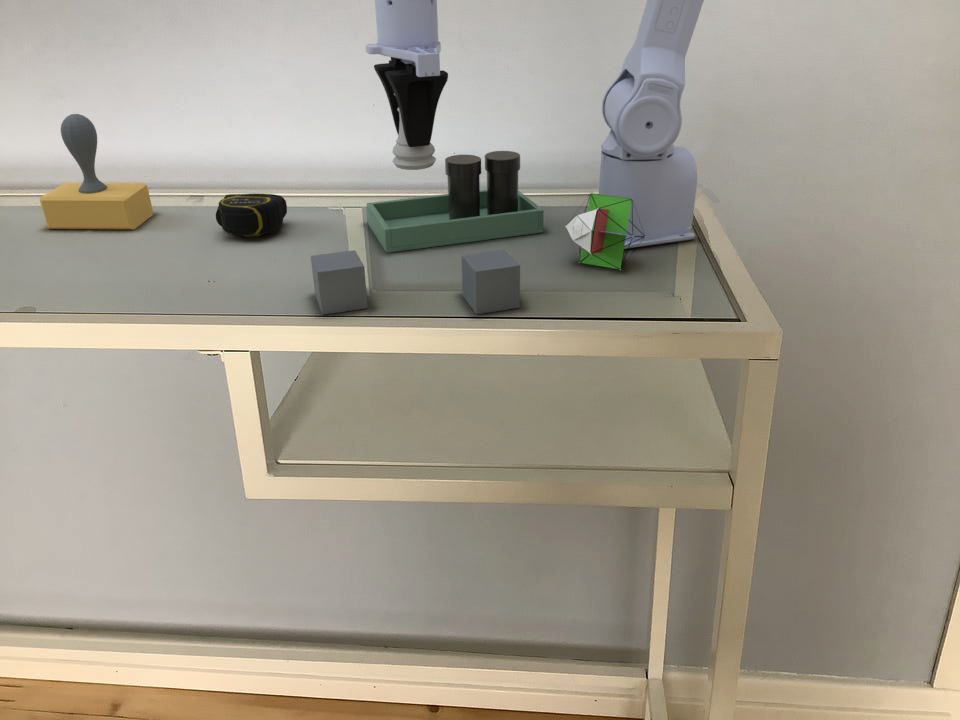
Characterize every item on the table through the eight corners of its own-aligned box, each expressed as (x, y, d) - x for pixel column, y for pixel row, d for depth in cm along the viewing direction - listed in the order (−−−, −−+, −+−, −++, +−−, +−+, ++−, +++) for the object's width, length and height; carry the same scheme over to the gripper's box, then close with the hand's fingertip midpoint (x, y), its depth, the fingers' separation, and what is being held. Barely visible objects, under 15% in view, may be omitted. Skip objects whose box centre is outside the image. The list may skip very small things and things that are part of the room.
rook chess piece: (386, 169, 81) (380, 86, 77) (400, 157, 85) (395, 77, 81) (429, 171, 80) (425, 87, 76) (441, 159, 84) (438, 79, 80)
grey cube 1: (359, 290, 74) (355, 249, 72) (368, 308, 71) (364, 265, 69) (315, 297, 73) (310, 255, 71) (322, 315, 70) (317, 272, 68)
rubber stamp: (46, 229, 90) (14, 120, 84) (72, 213, 95) (44, 108, 89) (133, 230, 90) (107, 120, 84) (154, 213, 95) (131, 108, 89)
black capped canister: (512, 210, 92) (512, 149, 89) (524, 221, 89) (525, 157, 85) (480, 214, 91) (480, 152, 88) (492, 225, 88) (491, 161, 84)
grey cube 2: (504, 290, 74) (504, 249, 72) (519, 307, 71) (520, 265, 69) (462, 296, 73) (461, 254, 71) (476, 314, 70) (475, 271, 68)
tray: (513, 207, 95) (513, 186, 94) (543, 232, 87) (543, 210, 86) (368, 224, 90) (366, 202, 89) (386, 253, 82) (384, 229, 81)
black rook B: (475, 215, 91) (474, 153, 87) (486, 226, 88) (485, 161, 84) (443, 219, 90) (440, 156, 86) (453, 230, 87) (450, 165, 83)
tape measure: (291, 221, 92) (286, 189, 90) (276, 242, 86) (271, 208, 84) (231, 221, 92) (225, 189, 90) (212, 243, 86) (206, 208, 84)
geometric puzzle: (591, 217, 84) (574, 171, 77) (656, 226, 81) (645, 179, 74) (569, 277, 82) (550, 236, 75) (635, 289, 79) (621, 247, 72)
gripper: (348, -12, 80) (360, 128, 86) (379, 0, 67) (390, 163, 74) (417, -15, 81) (424, 122, 88) (460, -4, 69) (464, 155, 76)
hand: (413, 140), depth 81 cm, fingers closed on rook chess piece, 3 cm apart
